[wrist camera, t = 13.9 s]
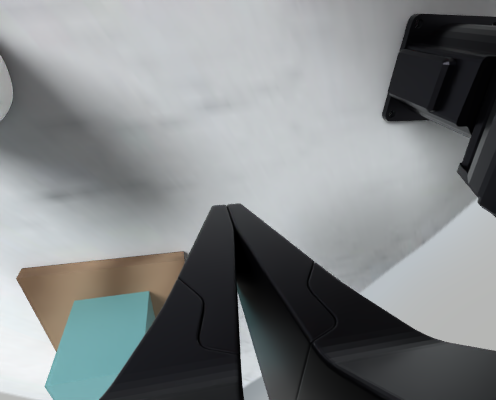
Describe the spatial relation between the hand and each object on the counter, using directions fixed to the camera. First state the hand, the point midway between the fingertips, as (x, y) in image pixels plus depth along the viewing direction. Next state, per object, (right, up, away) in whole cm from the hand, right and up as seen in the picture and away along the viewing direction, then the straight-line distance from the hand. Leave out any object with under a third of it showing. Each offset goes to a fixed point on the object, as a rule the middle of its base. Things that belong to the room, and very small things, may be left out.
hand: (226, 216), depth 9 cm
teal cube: (-11, -10, +17) cm, 23 cm away
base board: (-11, -9, +18) cm, 23 cm away
